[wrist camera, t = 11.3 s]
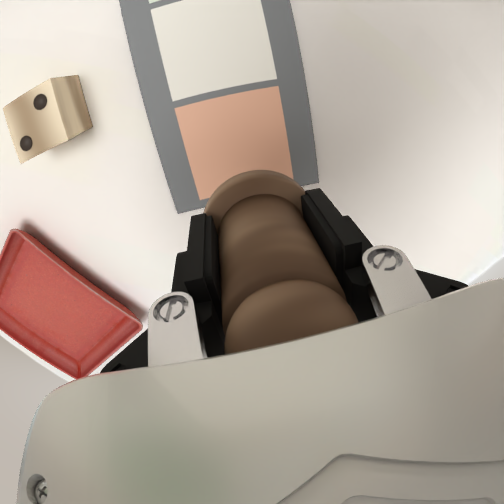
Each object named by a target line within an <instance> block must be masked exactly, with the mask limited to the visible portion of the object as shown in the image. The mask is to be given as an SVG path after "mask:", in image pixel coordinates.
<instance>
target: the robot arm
mask: <svg viewBox="0 0 504 504" xmlns="http://www.w3.org/2000/svg"><path fill="white" fill-rule="evenodd" d="M301 204H302V212H303V218H304V220H305V221H306V223H307V225H308V227H309V228H310V230H311V232H312V234H313V236H314V237H315V239H316V241H317V243H318V245H319V246H320V248H321V250H322V252H323V254H324V256H325V257H326V259H327V261H328V263H329V265H330V267H331V269H332V270H333V272H334V274H335V276H336V278H337V280H338V282H339V284H340V286H341V288H342V289H343V292H344V294H345V296H346V300H347V303H348V304H349V306H350V307H351V308H352V310H353V312H354V313H355V315H356V317H357V320H358V322H359V323H355V324H352V325H348V326H345V327H341V328H338V329H334V330H330V331H326V332H323V333H319V334H315V335H311V336H307V337H303V338H299V339H295V340H291V341H286V342H282V343H278V344H273V345H269V346H264V347H259V348H255V349H250V350H245V351H240V352H235V353H230V354H225V352H224V343H225V334H224V331H223V323H222V304H221V286H220V267H219V246H218V234H217V231H216V227H215V224H214V220H213V217H212V215H211V216H207V215H206V213H203V214H199V215H195V216H191V222H190V230H189V238H188V247H187V251H185V252H181V253H178V254H177V257H176V264H175V270H174V277H173V284H172V291H171V293H168V294H166V295H163V296H162V297H160V298H159V299H157V300H156V301H155V302H154V303H153V304H152V306H151V307H150V309H149V313H148V329H147V330H146V331H145V332H143V333H142V334H141V335H140V336H139V337H138V338H137V339H135V340H134V341H133V342H132V343H131V344H130V345H128V346H127V347H126V348H125V349H124V350H123V351H122V352H120V353H119V354H118V355H117V356H116V357H115V358H114V359H112V360H111V361H110V362H109V363H108V364H107V365H106V366H105V367H104V368H103V369H102V371H101V372H100V374H95V375H90V376H86V377H83V378H80V379H76V380H73V381H71V382H69V383H67V384H64V385H62V386H60V387H58V388H57V389H55V390H53V391H52V392H51V393H49V394H48V395H47V396H46V397H45V398H44V399H43V400H42V402H41V403H40V405H39V407H38V409H37V411H36V413H35V415H34V418H33V421H32V424H31V427H30V430H29V433H28V437H27V440H26V444H25V449H24V453H23V458H22V463H21V469H20V475H19V483H18V493H17V504H504V278H498V279H491V280H487V281H484V282H480V283H477V284H474V285H471V286H468V285H466V284H464V283H462V282H459V281H455V280H452V279H448V278H445V277H441V276H437V275H434V274H430V273H427V272H423V271H419V270H416V269H414V268H413V266H412V264H411V263H410V261H409V259H408V258H407V256H406V255H405V254H404V253H403V252H402V251H401V250H399V249H398V248H395V247H392V246H386V245H381V246H375V247H373V245H372V244H371V243H370V242H369V240H368V239H367V238H366V237H365V235H364V234H363V233H362V232H361V230H360V229H359V228H358V227H357V225H356V224H355V223H354V222H353V220H352V219H351V218H350V217H349V216H342V215H341V214H340V212H339V211H338V210H337V209H336V207H335V206H334V205H333V204H332V202H331V201H330V200H329V199H328V198H327V196H326V195H325V194H324V193H323V191H322V190H321V189H320V188H318V189H313V190H308V191H305V195H302V196H301Z"/></svg>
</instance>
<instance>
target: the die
mask: <svg viewBox="0 0 504 504" xmlns="http://www.w3.org/2000/svg"><path fill="white" fill-rule="evenodd" d="M3 111H4V115H5V118H6V122H7V125H8V128H9V131H10V135H11V138H12V141H13V144H14V147H15V149H16V152H17V155H18V158H19V161H20V163H21V164H22V163H24V162H26V161H28V160H29V159H31V158H33V157H35V156H37V155H39V154H41V153H43V152H45V151H47V150H49V149H51V148H53V147H55V146H57V145H59V144H61V143H64V142H66V141H68V140H70V139H72V138H73V137H75V136H77V135H79V134H80V133H82V132H84V131H86V130H88V129H90V128H91V127H93V125H92V122H91V119H90V116H89V112H88V109H87V106H86V102H85V99H84V95H83V91H82V88H81V84H80V80H79V76H78V75H74V76H65V77H57V78H50V79H48V80H47V81H45V82H43V83H41V84H40V85H38V86H36V87H34V88H33V89H31V90H29V91H28V92H26V93H25V94H23V95H21V96H20V97H18V98H17V99H15V100H14V101H12V102H11V103H9V104H8V105H6V106H5V107H3Z"/></svg>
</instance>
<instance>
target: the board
mask: <svg viewBox="0 0 504 504" xmlns="http://www.w3.org/2000/svg"><path fill="white" fill-rule="evenodd" d="M119 2H120V7H121V12H122V16H123V21H124V26H125V30H126V34H127V39H128V43H129V47H130V52H131V56H132V60H133V64H134V68H135V72H136V76H137V79H138V83H139V87H140V91H141V95H142V98H143V102H144V106H145V109H146V113H147V116H148V120H149V123H150V127H151V130H152V134H153V137H154V140H155V144H156V147H157V150H158V154H159V157H160V160H161V164H162V167H163V170H164V173H165V176H166V179H167V183H168V186H169V189H170V192H171V195H172V198H173V201H174V204H175V207H176V210H177V213H178V214H179V213H183V212H187V211H191V210H195V209H199V208H203V207H206V204H207V202H208V200H209V198H210V197H211V195H212V194H213V193H214V191H215V190H216V189H217V188H218V187H219V186H220V185H221V184H222V183H224V182H225V181H226V180H228V179H230V178H231V177H233V176H235V175H238V174H240V173H243V172H247V171H252V170H271V171H275V172H279V173H282V174H284V175H286V176H288V177H290V178H292V179H293V180H294V181H296V182H297V183H298V184H299V185H300V186H304V185H309V184H315V183H319V179H318V169H317V160H316V152H315V143H314V135H313V128H312V121H311V113H310V107H309V100H308V93H307V87H306V81H305V75H304V69H303V64H302V58H301V53H300V47H299V42H298V37H297V32H296V27H295V22H294V18H293V13H292V9H291V4H290V0H119Z"/></svg>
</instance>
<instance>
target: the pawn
mask: <svg viewBox="0 0 504 504" xmlns="http://www.w3.org/2000/svg"><path fill="white" fill-rule="evenodd" d="M302 195H305V191H304V190H303V188H302V187H301V186H300V185H299V184H298V183H297V182H296V181H294V180H293V179H292V178H290V177H288V176H286V175H284V174H282V173H279V172H275V171H271V170H252V171H247V172H243V173H240V174H238V175H235V176H233V177H231V178H230V179H228V180H226V181H225V182H224V183H222V184H221V185H220V186H219V187H218V188H217V189H216V190H215V191H214V193H213V194H212V195H211V197H210V198H209V200H208V202H207V204H206V207H205V210H204V213H206V215H207V216H211V215H212V217H213V220H214V224H215V227H216V231H217V234H218V246H219V267H220V286H221V304H222V323H223V331H224V334H225V343H224V352H225V354H230V353H235V352H240V351H245V350H250V349H255V348H259V347H264V346H269V345H273V344H278V343H282V342H286V341H291V340H295V339H299V338H303V337H307V336H311V335H315V334H319V333H323V332H326V331H330V330H334V329H338V328H341V327H345V326H348V325H352V324H355V323H359V322H358V320H357V317H356V315H355V313H354V312H353V310H352V308H351V307H350V306H349V304H348V303H347V300H346V296H345V294H344V292H343V289H342V288H341V286H340V284H339V282H338V280H337V278H336V276H335V274H334V272H333V270H332V269H331V267H330V265H329V263H328V261H327V259H326V257H325V256H324V254H323V252H322V250H321V248H320V246H319V245H318V243H317V241H316V239H315V237H314V236H313V234H312V232H311V230H310V228H309V227H308V225H307V223H306V221H305V220H304V218H303V212H302V204H301V196H302Z"/></svg>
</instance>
